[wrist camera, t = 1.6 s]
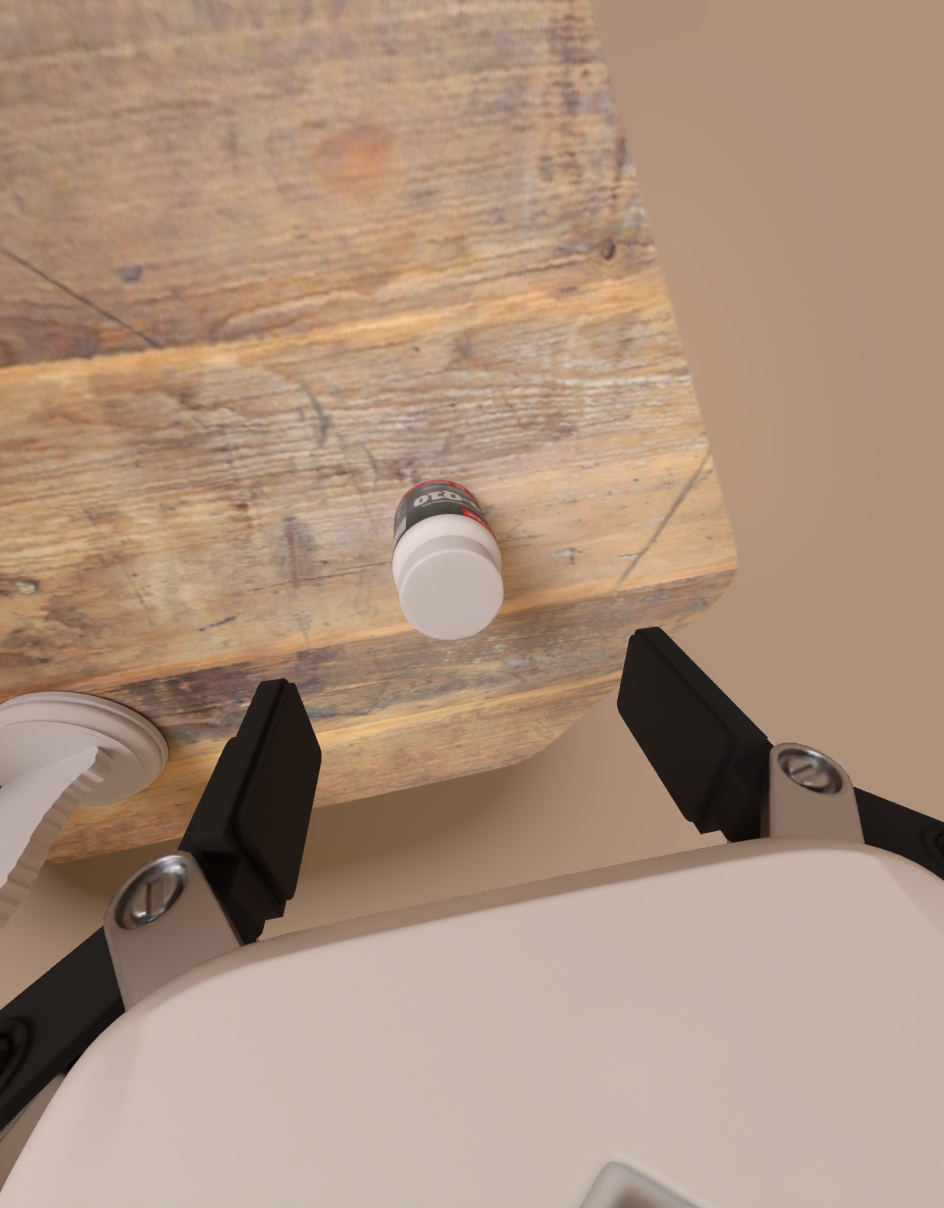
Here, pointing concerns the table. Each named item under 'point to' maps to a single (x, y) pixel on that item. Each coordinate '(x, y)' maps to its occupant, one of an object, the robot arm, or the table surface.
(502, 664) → the table surface
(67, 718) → the chess piece
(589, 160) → the table surface
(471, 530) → the pill bottle
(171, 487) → the table surface
